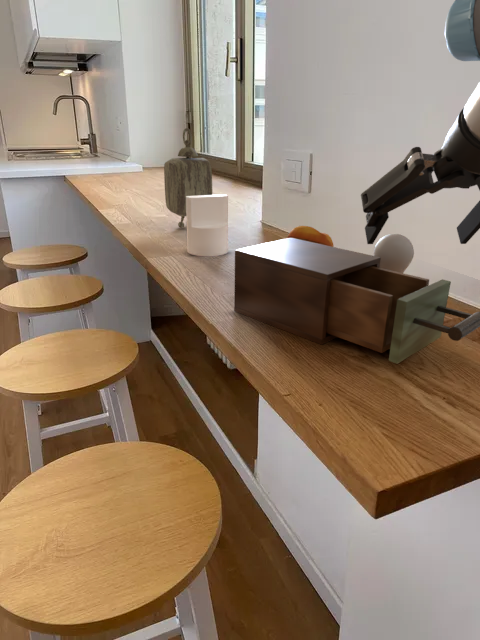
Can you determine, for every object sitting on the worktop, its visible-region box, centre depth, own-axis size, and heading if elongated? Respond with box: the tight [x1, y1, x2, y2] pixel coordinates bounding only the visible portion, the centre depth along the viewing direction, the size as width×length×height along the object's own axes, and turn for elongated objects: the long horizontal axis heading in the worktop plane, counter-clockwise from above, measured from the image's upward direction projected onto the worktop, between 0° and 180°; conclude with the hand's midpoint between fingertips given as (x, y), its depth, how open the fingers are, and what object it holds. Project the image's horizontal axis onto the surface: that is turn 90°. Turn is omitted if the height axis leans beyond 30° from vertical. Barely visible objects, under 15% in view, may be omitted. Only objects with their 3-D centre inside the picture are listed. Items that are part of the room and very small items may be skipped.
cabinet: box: [233, 237, 381, 346], centre depth 73 cm, size 17×13×10 cm
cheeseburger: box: [286, 225, 335, 247], centre depth 94 cm, size 10×11×10 cm
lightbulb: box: [373, 233, 415, 274], centre depth 79 cm, size 6×6×11 cm
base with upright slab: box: [186, 193, 229, 257], centre depth 108 cm, size 9×9×12 cm
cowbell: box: [163, 127, 213, 229], centre depth 129 cm, size 14×9×25 cm, turn 22°
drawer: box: [326, 266, 480, 365], centre depth 63 cm, size 21×11×8 cm, turn 44°
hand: (415, 236), depth 70 cm, fingers open, 13 cm apart
